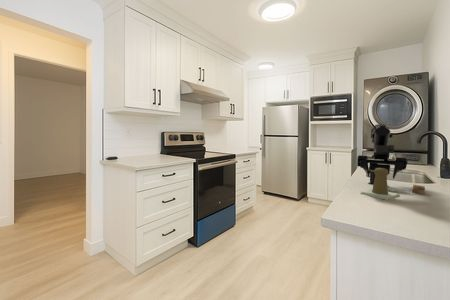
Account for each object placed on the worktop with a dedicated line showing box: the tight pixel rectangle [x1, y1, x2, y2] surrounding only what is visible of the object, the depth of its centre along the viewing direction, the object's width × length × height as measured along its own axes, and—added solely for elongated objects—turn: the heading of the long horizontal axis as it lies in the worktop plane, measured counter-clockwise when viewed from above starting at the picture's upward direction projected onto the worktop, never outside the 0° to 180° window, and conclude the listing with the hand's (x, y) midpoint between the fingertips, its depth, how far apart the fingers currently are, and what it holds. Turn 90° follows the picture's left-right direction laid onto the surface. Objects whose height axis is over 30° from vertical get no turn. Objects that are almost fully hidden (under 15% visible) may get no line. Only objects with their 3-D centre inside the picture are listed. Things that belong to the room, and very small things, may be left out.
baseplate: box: [360, 188, 401, 201], centre depth 100 cm, size 11×11×1 cm
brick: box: [411, 184, 426, 195], centre depth 104 cm, size 4×4×3 cm
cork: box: [372, 168, 389, 195], centre depth 100 cm, size 6×6×11 cm
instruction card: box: [387, 185, 417, 195], centre depth 108 cm, size 12×9×1 cm
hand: (380, 177), depth 100 cm, fingers open, 9 cm apart
